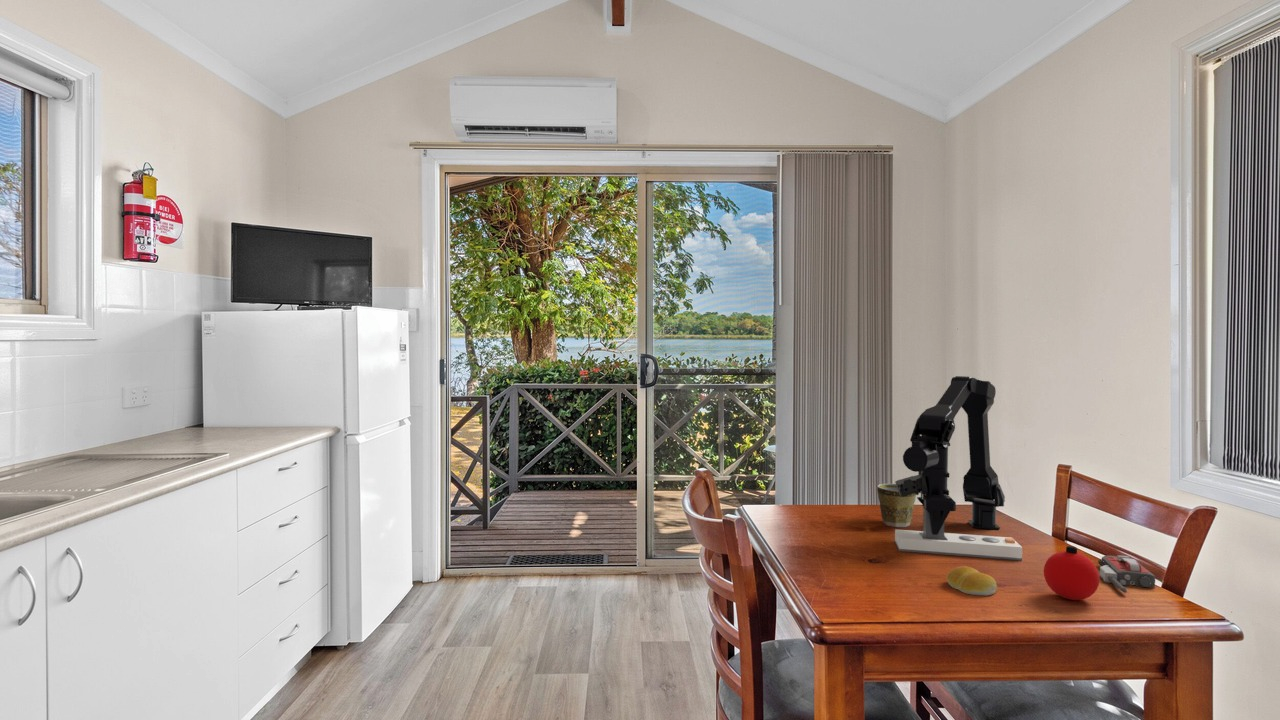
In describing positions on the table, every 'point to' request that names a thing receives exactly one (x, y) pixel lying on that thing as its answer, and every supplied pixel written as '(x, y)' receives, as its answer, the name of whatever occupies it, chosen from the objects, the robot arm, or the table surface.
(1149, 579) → the walkie-talkie
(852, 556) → the table surface
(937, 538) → the grey rectangular block
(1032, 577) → the table surface
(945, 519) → the robot arm
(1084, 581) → the ornament
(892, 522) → the ceramic cup
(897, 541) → the power strip
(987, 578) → the bread roll
